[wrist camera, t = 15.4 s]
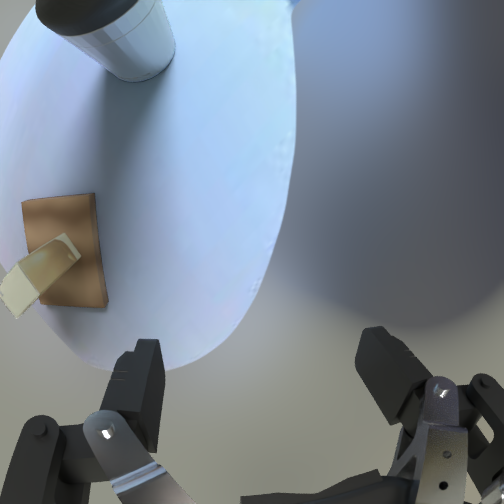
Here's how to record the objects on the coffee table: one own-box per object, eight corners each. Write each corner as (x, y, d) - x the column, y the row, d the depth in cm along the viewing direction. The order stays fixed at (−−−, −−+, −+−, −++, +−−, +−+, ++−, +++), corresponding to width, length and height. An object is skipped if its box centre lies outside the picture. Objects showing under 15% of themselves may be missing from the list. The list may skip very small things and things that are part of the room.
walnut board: (28, 199, 32) (21, 202, 30) (94, 193, 34) (88, 195, 32) (46, 298, 37) (40, 304, 35) (108, 301, 39) (104, 308, 37)
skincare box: (58, 279, 34) (15, 322, 23) (41, 255, 33) (-7, 292, 22) (83, 255, 34) (40, 296, 23) (65, 229, 33) (15, 262, 21)
